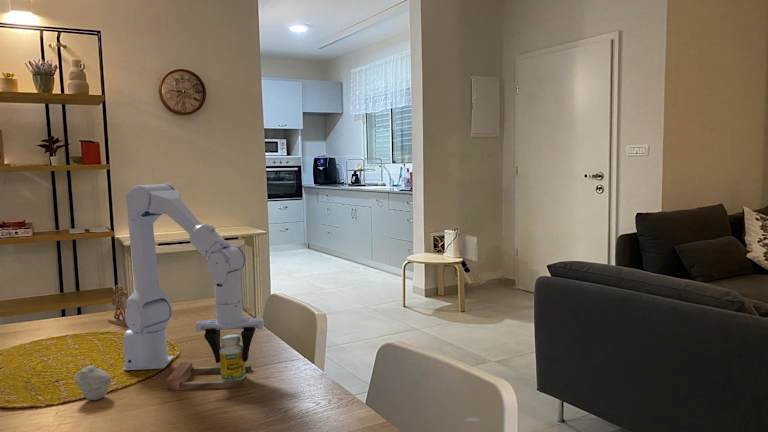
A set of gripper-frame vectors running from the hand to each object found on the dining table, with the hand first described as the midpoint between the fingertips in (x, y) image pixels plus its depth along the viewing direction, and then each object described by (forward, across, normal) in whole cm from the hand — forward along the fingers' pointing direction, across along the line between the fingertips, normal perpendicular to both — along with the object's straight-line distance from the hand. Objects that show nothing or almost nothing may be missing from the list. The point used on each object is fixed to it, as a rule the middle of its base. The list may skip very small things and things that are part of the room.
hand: (232, 360), depth 129 cm
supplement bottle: (+4, 0, 0) cm, 4 cm away
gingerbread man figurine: (+4, -45, +52) cm, 69 cm away
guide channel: (+4, -5, 0) cm, 6 cm away
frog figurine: (+4, -27, -8) cm, 28 cm away
